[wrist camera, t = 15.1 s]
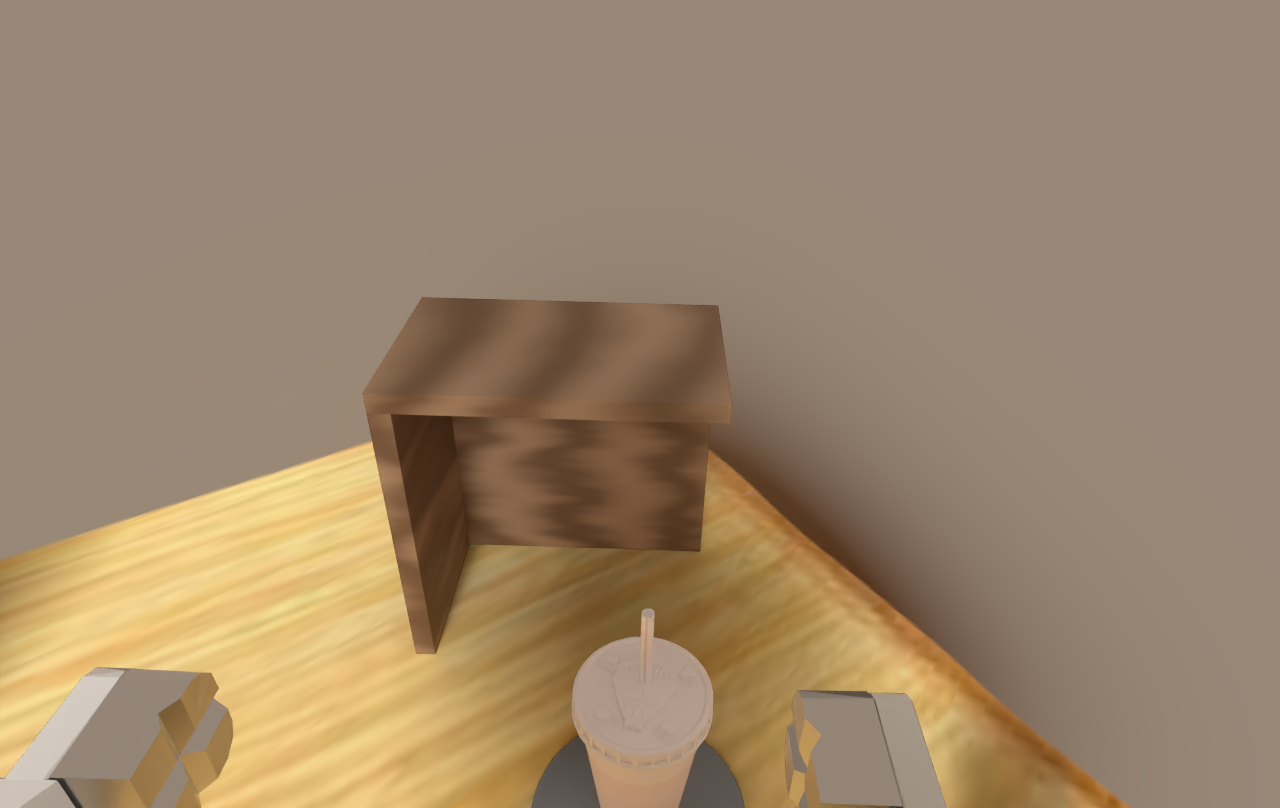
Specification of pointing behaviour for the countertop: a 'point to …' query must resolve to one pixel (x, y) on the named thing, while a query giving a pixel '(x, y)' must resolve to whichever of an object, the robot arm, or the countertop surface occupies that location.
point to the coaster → (572, 798)
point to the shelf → (542, 432)
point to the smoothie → (641, 718)
